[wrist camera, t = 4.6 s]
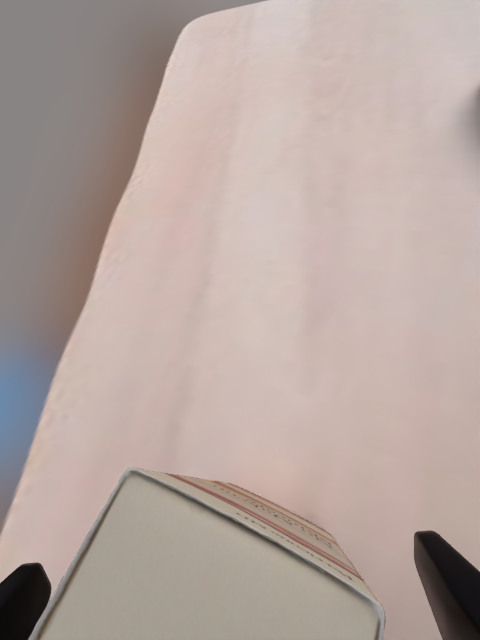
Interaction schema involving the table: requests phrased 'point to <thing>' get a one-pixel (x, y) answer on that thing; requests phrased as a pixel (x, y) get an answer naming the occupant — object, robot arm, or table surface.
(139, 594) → the pushpin icon carton
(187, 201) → the table surface
